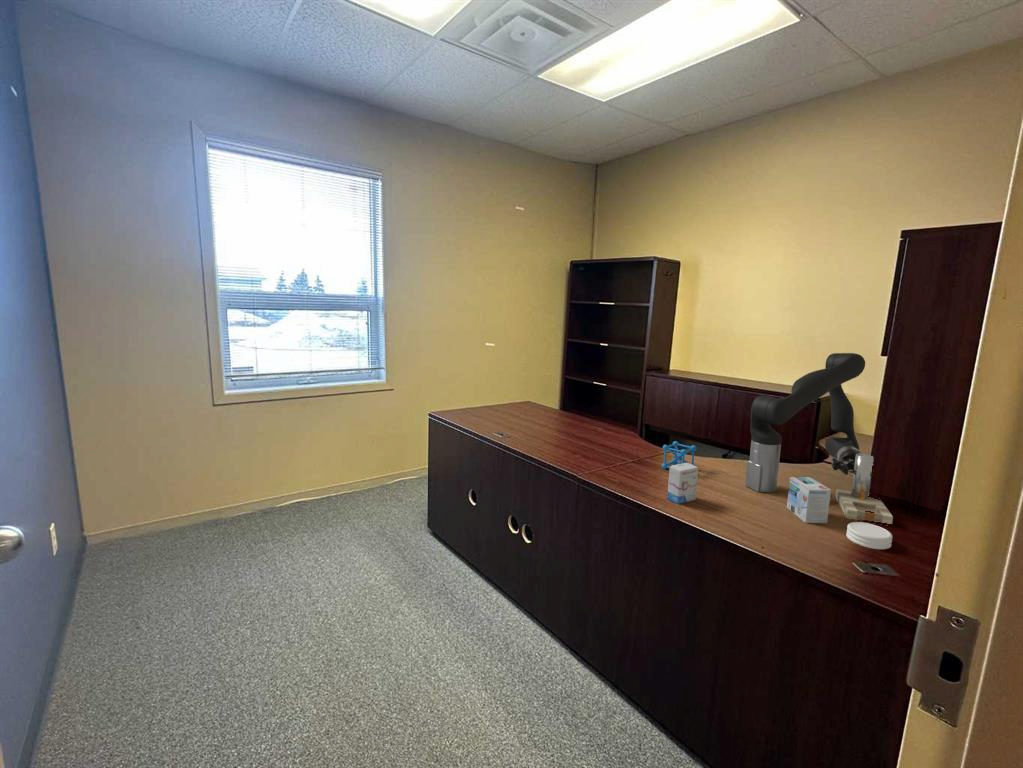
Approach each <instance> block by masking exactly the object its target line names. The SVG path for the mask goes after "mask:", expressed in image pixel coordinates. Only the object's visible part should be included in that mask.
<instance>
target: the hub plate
mask: <svg viewBox="0 0 1023 768" xmlns="http://www.w3.org/2000/svg"><path fill="white" fill-rule="evenodd" d="M835 490H836V491H835V499H836V502H837V503H838V505H839V507H840V508H842V509H841V511H842V510H843V511H842V513H843V512H844V513H843V515H844V516H845V518H846V517H847V518H851V519H852V518H853V519H862V520H868V521H874V522H881V523H887V524H892V525H893V520H894V516H893V515H892V513H891V512H890V510H889V509H888V508H887V506H886V505H885V503H884V502H883V501H882V500H881V499H880V500H878V499H874V498H871V497H868V499H864V501H861V500H859V499H857V498H854V497H852V496H851V490H846V489H840V488H836V489H835ZM865 511H871V512H874V513H870V512H865ZM847 518H846V519H847ZM851 519H850V520H851Z"/></svg>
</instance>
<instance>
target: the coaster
mask: <svg viewBox="0 0 1023 768" xmlns="http://www.w3.org/2000/svg"><path fill="white" fill-rule="evenodd" d="M846 527H847V529H846V534H845V535H846V538H847V539H848V540H849V541H850V542H852V543H854V544H856V545H858V544H859V545H858V546H862V547H864V548H868V549H873V550H887V549H890V548H891V547H892V542H893V534H892V533H891V532H890V531H889V530H887V529H885V528H884V527H881V526H879V525H877V524H876V525H875V524H874V523H870V522H863V521H856V522H855V521H854V522H850V523H848V524H847V526H846Z"/></svg>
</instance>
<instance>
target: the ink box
mask: <svg viewBox="0 0 1023 768" xmlns="http://www.w3.org/2000/svg"><path fill="white" fill-rule="evenodd" d="M694 465H695V464H694ZM694 465H692V463H689V462H688V463H685V462H684V463H683V464H676V465H674V464H671V466H669V467H670V468H669V474H668V482H667V483H668V486H667V495H666V496H667V497H666V498H667V500H669V501H671V502H673V503H675V504H677V505H680V504H683V503H687V502H690V501H694V500H696V498H697V497H696V496H697V495H696V494H697V486H698V485H697V484H698V476H699V475H698V474H699V466H696V465H695V466H694Z"/></svg>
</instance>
